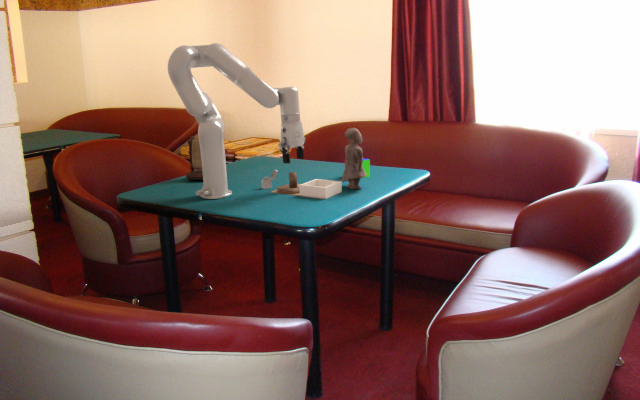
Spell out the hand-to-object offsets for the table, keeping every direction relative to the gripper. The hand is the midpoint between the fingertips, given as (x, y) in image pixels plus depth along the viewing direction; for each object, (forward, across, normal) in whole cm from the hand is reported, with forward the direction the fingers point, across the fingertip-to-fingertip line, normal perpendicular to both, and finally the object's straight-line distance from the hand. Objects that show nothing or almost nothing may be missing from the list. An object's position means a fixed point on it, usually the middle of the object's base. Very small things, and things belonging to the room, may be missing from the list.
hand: (293, 160), depth 228 cm
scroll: (+12, +2, +55) cm, 56 cm away
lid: (+12, -1, +1) cm, 12 cm away
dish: (+13, -2, -13) cm, 19 cm away
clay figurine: (+14, +14, -19) cm, 28 cm away
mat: (+13, -1, +1) cm, 13 cm away
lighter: (+13, -1, +13) cm, 18 cm away
